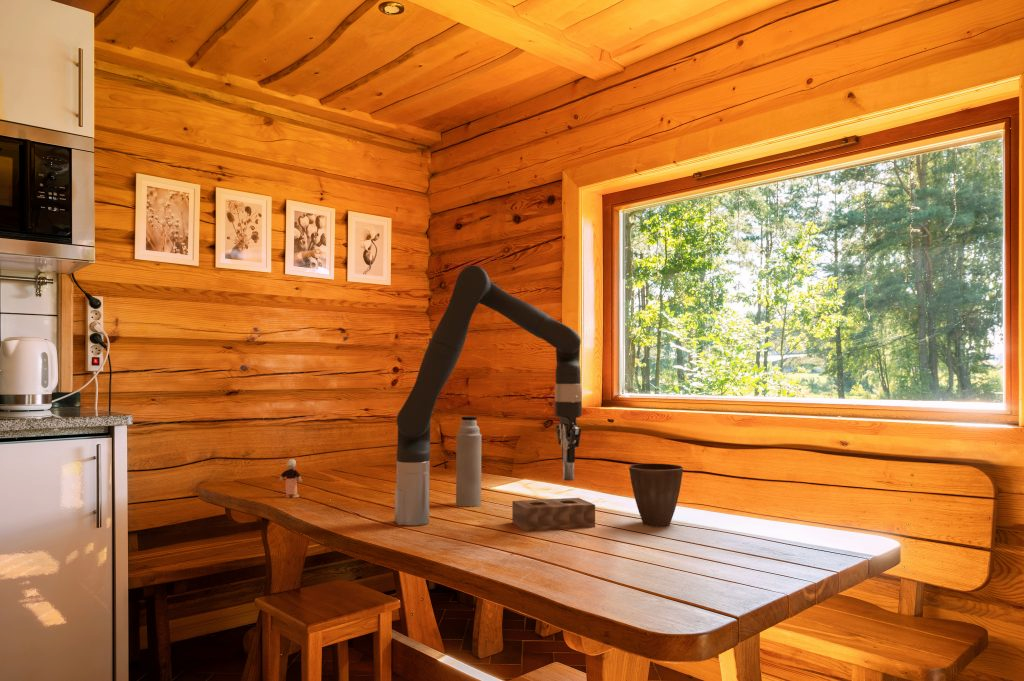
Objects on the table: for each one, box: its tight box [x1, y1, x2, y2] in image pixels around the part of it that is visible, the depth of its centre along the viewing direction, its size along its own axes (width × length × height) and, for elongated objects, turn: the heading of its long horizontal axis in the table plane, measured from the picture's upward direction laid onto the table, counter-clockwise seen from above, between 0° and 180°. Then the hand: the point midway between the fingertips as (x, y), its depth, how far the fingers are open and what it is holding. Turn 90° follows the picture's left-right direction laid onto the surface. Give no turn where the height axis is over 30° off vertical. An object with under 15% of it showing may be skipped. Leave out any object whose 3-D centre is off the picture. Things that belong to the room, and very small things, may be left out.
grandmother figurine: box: [278, 458, 303, 499], centre depth 253 cm, size 8×4×13 cm, turn 94°
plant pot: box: [628, 463, 684, 527], centre depth 211 cm, size 15×15×16 cm
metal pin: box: [562, 431, 575, 482], centre depth 211 cm, size 3×3×14 cm
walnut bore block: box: [511, 497, 596, 532], centre depth 209 cm, size 20×12×6 cm, turn 107°
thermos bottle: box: [455, 416, 483, 508], centre depth 240 cm, size 8×8×28 cm
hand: (568, 461), depth 211 cm, fingers closed on metal pin, 3 cm apart
